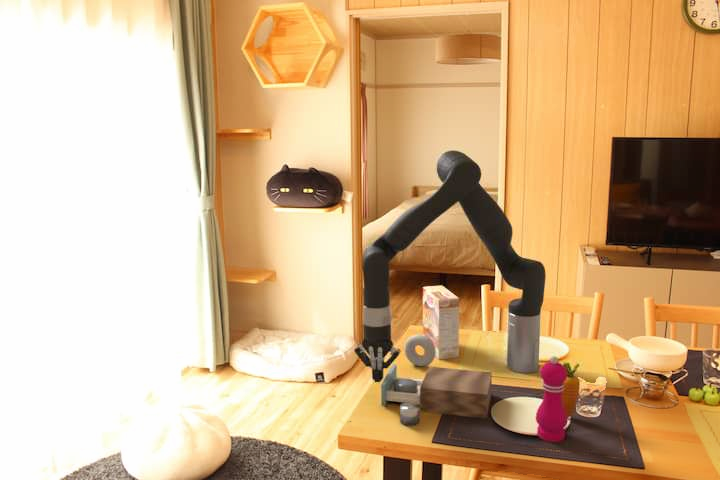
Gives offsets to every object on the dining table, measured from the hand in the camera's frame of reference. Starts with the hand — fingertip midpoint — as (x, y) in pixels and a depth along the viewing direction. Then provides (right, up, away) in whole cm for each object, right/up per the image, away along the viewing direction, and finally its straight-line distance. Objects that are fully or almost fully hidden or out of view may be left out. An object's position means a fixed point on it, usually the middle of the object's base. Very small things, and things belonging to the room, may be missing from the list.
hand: (378, 381), depth 178 cm
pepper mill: (+41, -8, -23) cm, 47 cm away
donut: (+13, 0, +19) cm, 23 cm away
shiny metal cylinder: (+8, -7, -15) cm, 18 cm away
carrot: (+47, -6, -15) cm, 50 cm away
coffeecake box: (+21, +3, +31) cm, 38 cm away
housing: (+21, -5, -5) cm, 22 cm away
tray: (+11, -4, -3) cm, 12 cm away
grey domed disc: (+7, -2, -2) cm, 8 cm away
